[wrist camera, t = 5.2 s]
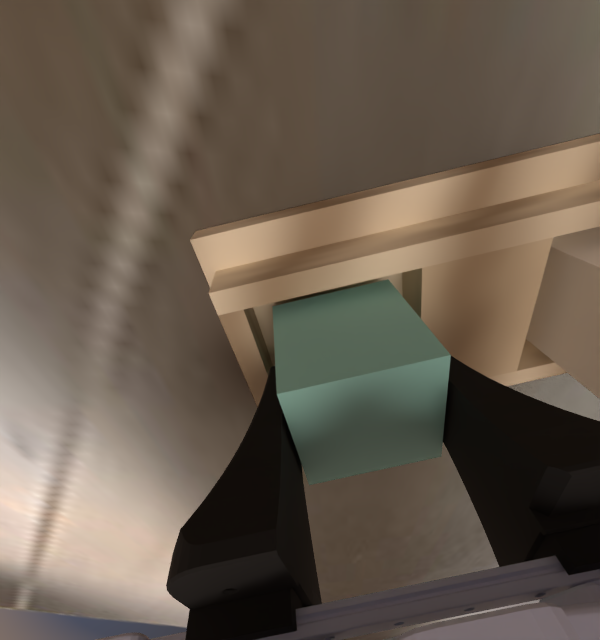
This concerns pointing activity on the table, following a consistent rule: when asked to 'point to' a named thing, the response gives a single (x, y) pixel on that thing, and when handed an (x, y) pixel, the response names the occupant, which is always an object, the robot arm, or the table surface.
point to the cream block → (571, 307)
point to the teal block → (359, 381)
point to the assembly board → (415, 256)
